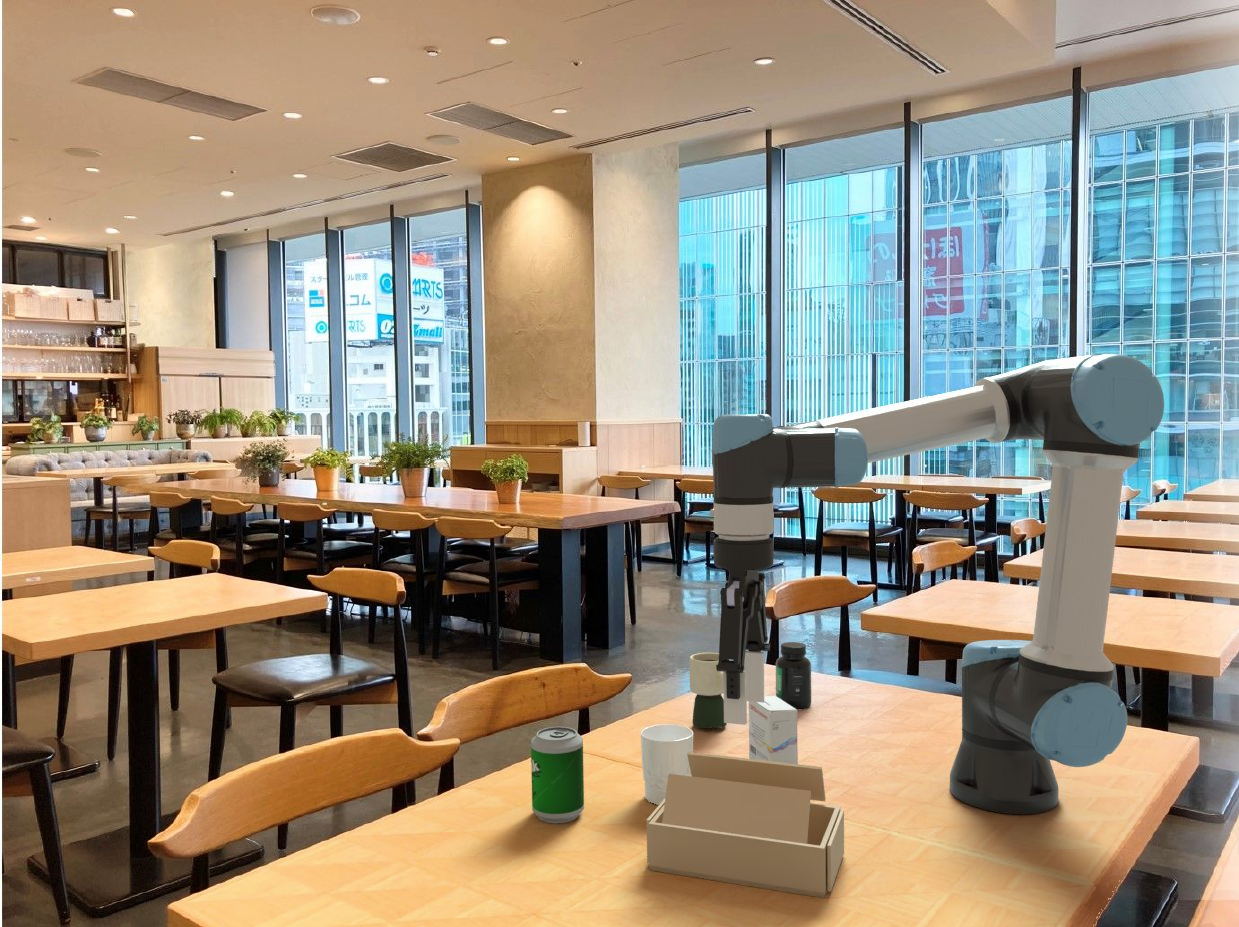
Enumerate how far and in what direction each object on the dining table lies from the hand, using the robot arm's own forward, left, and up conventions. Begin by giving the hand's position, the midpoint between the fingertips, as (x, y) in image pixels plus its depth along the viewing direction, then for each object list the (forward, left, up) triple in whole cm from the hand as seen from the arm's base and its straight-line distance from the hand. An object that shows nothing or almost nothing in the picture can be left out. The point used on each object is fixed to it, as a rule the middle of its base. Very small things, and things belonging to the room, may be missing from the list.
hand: (744, 711), depth 126 cm
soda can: (+29, -5, -20) cm, 35 cm away
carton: (0, 0, -19) cm, 19 cm away
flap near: (0, +7, -13) cm, 15 cm away
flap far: (0, -7, -13) cm, 15 cm away
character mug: (+19, -50, -20) cm, 57 cm away
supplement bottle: (+7, -68, -20) cm, 72 cm away
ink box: (+3, -30, -20) cm, 36 cm away
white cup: (+16, -16, -20) cm, 30 cm away
